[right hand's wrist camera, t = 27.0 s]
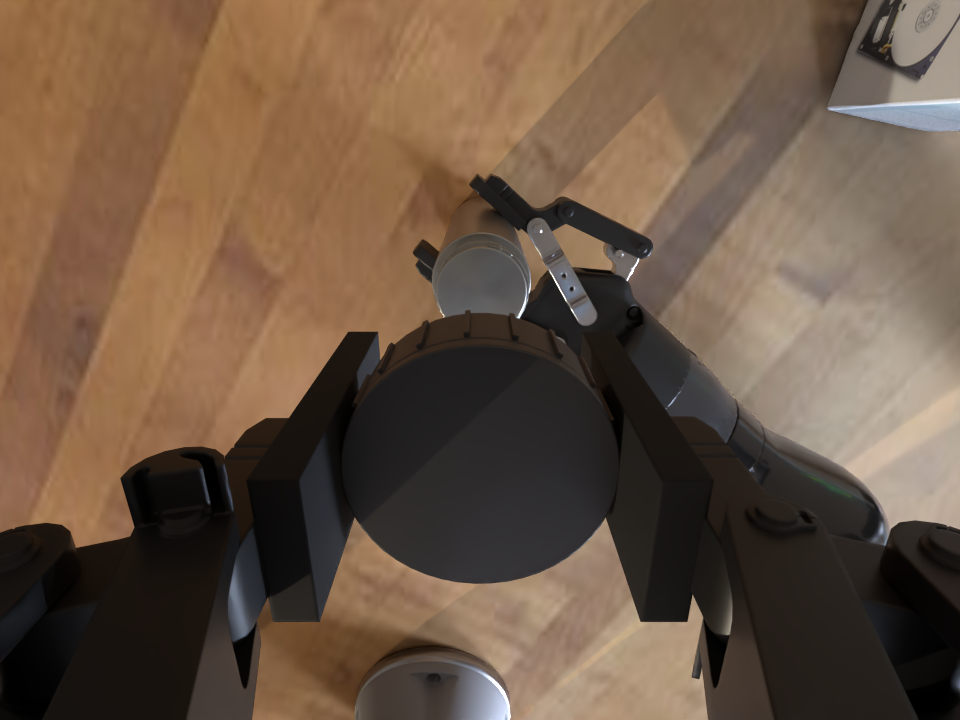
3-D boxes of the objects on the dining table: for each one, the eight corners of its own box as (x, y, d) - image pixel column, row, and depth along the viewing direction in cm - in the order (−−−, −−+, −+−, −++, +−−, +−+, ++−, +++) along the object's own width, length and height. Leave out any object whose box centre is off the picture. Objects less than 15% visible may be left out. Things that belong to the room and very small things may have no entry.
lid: (438, 256, 11) (429, 280, 9) (654, 391, 12) (685, 437, 10) (315, 457, 12) (287, 511, 10) (514, 558, 13) (519, 623, 12)
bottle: (502, 267, 39) (516, 354, 23) (443, 251, 38) (417, 327, 23) (520, 207, 37) (548, 256, 22) (459, 189, 37) (443, 225, 21)
